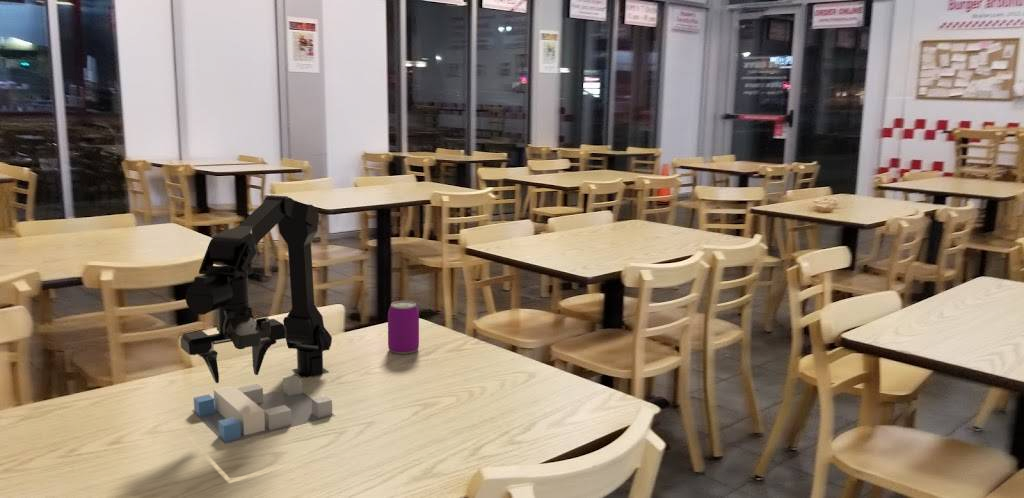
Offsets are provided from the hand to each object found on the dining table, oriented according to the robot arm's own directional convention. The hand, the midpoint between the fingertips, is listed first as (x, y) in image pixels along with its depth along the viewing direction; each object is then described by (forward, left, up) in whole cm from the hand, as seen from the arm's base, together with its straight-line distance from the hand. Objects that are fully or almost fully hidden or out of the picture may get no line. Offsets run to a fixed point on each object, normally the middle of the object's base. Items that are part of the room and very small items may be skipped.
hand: (236, 378), depth 159 cm
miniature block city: (0, +5, -9) cm, 10 cm away
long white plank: (0, 0, -8) cm, 8 cm away
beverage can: (-19, +49, -9) cm, 53 cm away
